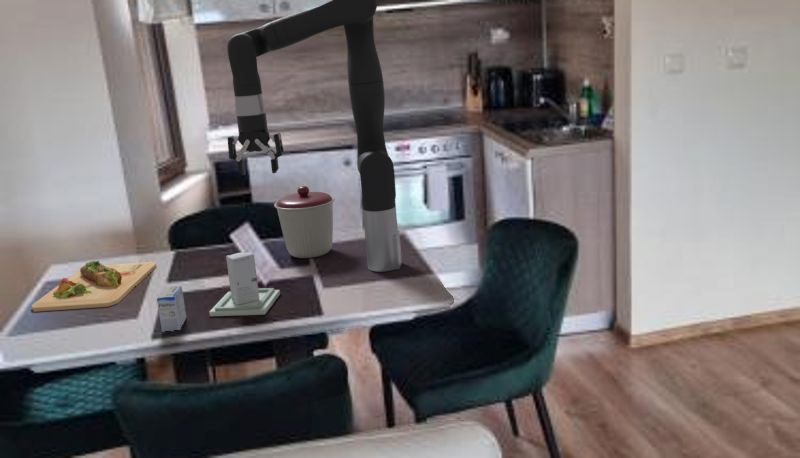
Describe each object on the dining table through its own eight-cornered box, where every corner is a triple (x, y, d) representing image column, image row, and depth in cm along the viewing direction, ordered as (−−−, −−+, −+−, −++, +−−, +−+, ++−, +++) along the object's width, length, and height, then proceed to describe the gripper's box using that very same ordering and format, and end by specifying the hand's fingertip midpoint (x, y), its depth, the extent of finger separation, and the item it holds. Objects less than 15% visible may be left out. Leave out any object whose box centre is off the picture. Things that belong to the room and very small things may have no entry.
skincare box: (238, 305, 189) (231, 259, 186) (231, 301, 193) (224, 255, 189) (260, 299, 192) (254, 253, 189) (253, 295, 196) (247, 250, 193)
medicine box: (168, 320, 187) (163, 287, 185) (187, 318, 187) (181, 285, 185) (162, 332, 179) (155, 298, 177) (181, 330, 179) (175, 296, 177)
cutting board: (115, 308, 200) (109, 281, 198) (28, 314, 201) (22, 287, 199) (159, 266, 234) (155, 243, 232) (85, 271, 235) (80, 248, 233)
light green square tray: (280, 294, 198) (279, 287, 198) (265, 314, 185) (264, 307, 185) (228, 296, 200) (227, 289, 200) (210, 316, 187) (208, 309, 186)
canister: (273, 264, 225) (264, 194, 219) (290, 246, 242) (282, 181, 236) (333, 261, 222) (325, 191, 216) (345, 243, 239) (338, 178, 234)
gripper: (281, 109, 200) (288, 169, 204) (229, 112, 202) (237, 172, 206) (273, 112, 193) (281, 175, 197) (219, 116, 195) (228, 178, 199)
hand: (259, 173), depth 202 cm, fingers open, 8 cm apart
